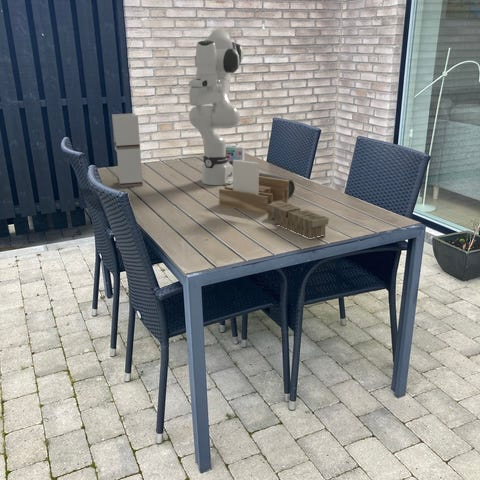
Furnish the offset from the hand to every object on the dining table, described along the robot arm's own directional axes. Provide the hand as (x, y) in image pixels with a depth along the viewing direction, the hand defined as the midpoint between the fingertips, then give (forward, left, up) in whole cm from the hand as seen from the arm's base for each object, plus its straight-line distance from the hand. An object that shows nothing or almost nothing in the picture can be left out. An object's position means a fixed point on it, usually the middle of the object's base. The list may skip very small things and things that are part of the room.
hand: (207, 114), depth 226 cm
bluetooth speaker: (-23, +19, -39) cm, 49 cm away
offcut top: (-3, +22, -33) cm, 39 cm away
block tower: (+13, +51, -40) cm, 66 cm away
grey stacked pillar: (-3, -53, -39) cm, 66 cm away
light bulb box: (-73, -34, -39) cm, 90 cm away
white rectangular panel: (+4, +22, -38) cm, 44 cm away
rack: (-3, +22, -39) cm, 45 cm away
